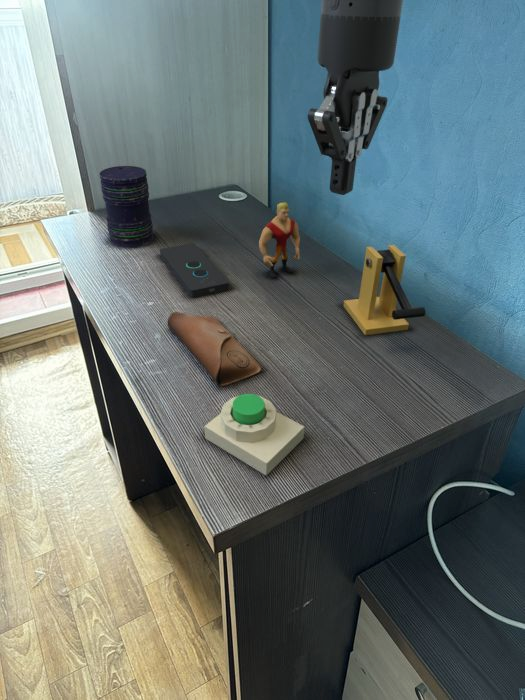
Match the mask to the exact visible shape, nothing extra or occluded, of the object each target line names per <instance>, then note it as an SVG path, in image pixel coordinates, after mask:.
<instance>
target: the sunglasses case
mask: <svg viewBox="0 0 525 700" xmlns="http://www.w3.org/2000/svg"><path fill="white" fill-rule="evenodd" d="M167 327H168V329H169V330H170V332H172V333H173V334H174V335H175V336H176V337H177V339H178V340H179V341H180V342H181V343H182V344H183V345H184V347H185V348H186V349H187V350H188V351H189V353H190V354H191V355H192V356H193V357H194V359H195V360H196V361H197V362H198V363H199V364H200V366H201V367H202V368H203V369H204V370H205V372H206V373H207V374H208V376H209V377H210V378H211V379H212V380H213V381H214V382H215V384H217V385H218V386H220V387H222V388H223V387H227V386H230V385H232V384H237V383H239V382H241V381H244V380H247V379H249V378H251V377H253V376H255V375H257V374H259V373H260V372H262V367H261V365H260V364H259V363H258V362H257V360H256V358H255V359H254V357H253V356H252V355H251V354H250V353H249V352H248V350H247V349H245V348H244V346H242V344H241V343H240V342H239V341H238V340H237V339H236V338H235V337H234V336H233V335H232V334H231V332H230V331H229V330H228V329H227V328H226V327H224V325H223V324H221V323H220V321H219V320H218V319H217V318H216V317H214V316H206V315H205V316H204V315H195V314H194V315H193V314H188V313H184V312H181V311H173V312H172V313H171V314H170V315H169V317H168V318H167Z"/></svg>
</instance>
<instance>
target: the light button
mask: <svg viewBox="0 0 525 700" xmlns="http://www.w3.org/2000/svg"><path fill="white" fill-rule="evenodd" d="M237 396H238V397H237ZM237 396H236V397H237V398H236V399H235V400H234V401H233V417H234V419H235V420H236V421H237V422H239V423H241V424H244V425H253V424H257V423H259V422H260V421H261V420H262V419H263V418H264V412H265V403H264V401H263V399H262V398H261V397H262V396H261V397H259V396H260V395H257V394H253V393H244V394H243V393H242V394H240V395H237Z"/></svg>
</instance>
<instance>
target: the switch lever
mask: <svg viewBox="0 0 525 700" xmlns="http://www.w3.org/2000/svg"><path fill="white" fill-rule="evenodd" d="M376 251H377V252H378V253H379V254H380V255H381V256H382V257H383V262H382V268H381V273H384V272H385V274H386V276H387V279H388V281H389V283H390V285H391V287H392V289H393V292H394V294H395V296H396V298H397V302H398V304H399V306H400V309H396V310H394V311H393V312H392V317H393V319H394V320H397V319H405V320H406V319H412V318H419V317H425V316H426V309H425V307H424V306H418V307H412V306H411V304H410V302H409V300H408V297H407V295H406V293H405V291H404V289H403V287H402V285H401V283H399V281H398V279H397V276H396V274H395V272H394V270H393V266H394V264H395V260H394V258H393V256H392V254H391V251H390V250H388V249H381V250H376Z"/></svg>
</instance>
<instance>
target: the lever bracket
mask: <svg viewBox="0 0 525 700" xmlns="http://www.w3.org/2000/svg"><path fill="white" fill-rule="evenodd" d="M387 250H390V251H391V254H392V256H393V258H394V260H395V264H394V266H393V270H394V272H395V274H396V276H397V279H398V281H399V283H400V284H401V283H402V277H403V272H404V267H405V262H406V257H407V255H406V254H405V253H404V252H403V251H402V250H400V249H399V248H398V247H397V246H396V245H395V244H389V245H388V247H387ZM377 251H378V250H376V249H375V248H374V247H373V246H366V249H365V256H364V262H363V268H362V276H361V283H360V289H359V297H358V298H355V299H347V300H346V299H345V300H343V308H344V310H346V312H347V313H348V314H349V315H350V317H351V318H352V320H353V321H354V322H355V324H356V325H357V326H358V328H359V329H360V330H361V332H362V333H363V334H364V336H370V335H379V334H385V333H386V334H387V333H393V332H394V333H395V332H402V331H409V326H410V323H409V322H408V321H407V320H406V318H405V319H397V320H394V319H393V317H392V312H393V311H394V310H397V309H396V308H397V302H398V300H397V298H396V296H395V294H394V292H393V289H392V287H391V285H390V283H389V281H388V279H387V276H386V274H385V272H383V275H382V276H383V277H382V281H381V282H382V283H381V287H380V292H379V285H380V279H381V268H382V262H383V257H382V256H381V255H380V254H379V253H378V252H377ZM378 292H379V296H378Z"/></svg>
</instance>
